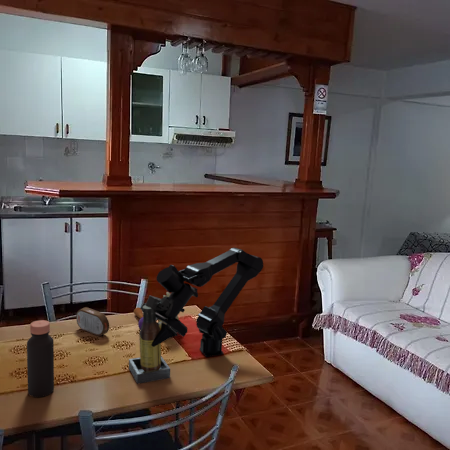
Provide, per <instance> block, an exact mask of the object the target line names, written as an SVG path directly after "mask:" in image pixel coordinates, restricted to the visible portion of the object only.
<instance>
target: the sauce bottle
mask: <svg viewBox="0 0 450 450" xmlns="http://www.w3.org/2000/svg"><path fill="white" fill-rule="evenodd" d="M141 307H142V306H141ZM142 312H143V323H142V326H141V329H139V351H140V352H139V358H140V360H141V368H142V369H143V370H144V371H152V370H158V369H160V367H161V356H162V348H161V347H162V345H161V344H162V343H160V344H158V345H157V346H155V347H153V346H152V345H151V344H152V342H153V341H154V339H155V337H156V336H157V334H158V333H159V331H160V327H159V325H158V321H156V314H155V312H156V310H154V309H152V308H151V307H149V306H146V305H144V306H143V307H142Z"/></svg>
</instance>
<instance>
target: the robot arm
mask: <svg viewBox="0 0 450 450" xmlns="http://www.w3.org/2000/svg"><path fill="white" fill-rule="evenodd" d="M234 264H236V272H235V274H234V275H233V277H232V278H231V280H230V281H229V282H228V284H227V285H226V286H225V288H224V289H223V291H222V292H221V293H220V294H219V296H218V298H217V299H216V300H215V302H214V303H213V304H212V305H210V306H209V307H208V306H206V305H204V306H203V307H202V310H201V311H200V312H199V313H198V314H197V318H196V321H195V323H196V324H195V325H196V329H198V332H199V333H200V334H202V335H201V339H200V347H199V350H200V351H201V353H202V355H204V356H205V357H206V358H209V357H216V356H222V355H224V351H223V349H222V347H223V339H225V338H226V336H227V334H228V331H227V330H226V329H225V328H224V327H223V325H224V323H225V315H226V312H227V311H228V310H229V309H230V307H231V306H232V304H233V303H234V301H235V300H236V299H237V298H238V296H239V294H240V293H241V291H242V290H243V288H244V287H245V286H246V284H247V283H248V281H250V280H252V279H254V278H256V277H257V276H258V275H259V274H260V272H262V271H263V268H264V261H263V257H260V256H256V255H253V254H251V253H250V254H249V253H248V252H247V251H245V250H243V249H241V248H237V247H232V248H230V249H229V250H227V251H226V252H223V253H221V254H220V255H218V256H216V257H213V258H211V259H209V260H207V261H206V262H198V263H193V264H190V265H187V266H186V267H185V268H184V269H181V270H179V269H178V268H177V267H176V266H175V265H173V264H170V265H169V266H168V267H167V266H166V267H164V268H163V269H161V270H160V271H158V273H157V275H156V281H157V282H158V284H160V286H161V287H163V288H164V290H166V292H168V293H170V296H169V297H167V295H166V296H165V297H164V298H163V297H162V298H160V297H156V296H153V295H148V298H147V300H146V302H144V303H143V304H141V307H139V308H140V309H141V310H142V307H143V306H144V305H146V306H149V307H151V308H152V309H154V310H156V312H155V314H156V322H157V323H158V320H161V321H163V322H164V323H166V324H164V323H161V330H160V331H159V333H158V334H157V336H156V337H155V339H154V341H153V342H152V344H151V345H152V346H153V347H155V346H157V345H158V344H160V343H161V344H162V343H163V342H165V341H167V340H169V339H171V338H174V337H175V336H176V337H178V336H179V335H180V336H182V337H185V336H186V334H187V333H188V330H189V329H188V327H187V326H186V325H185V324H184V323H183V322H182V321H181V320H180V319H179V320H178V319H176V317H177V316H178V315H180V313H184V312H185V308H184V307H185V306H186V304H187V303H188V302H189V301H190V299H191V298H192V297H194V298H198V297H199V294H198V288H200V287H203V286H205V285H206V284H208V282H210V281H211V280H212V277H213V276H214V275H216V274H218V273H220V272H221V271H224V270H225V269H227V268H229V267H230V266H233V265H234ZM192 285H193V286H195V287H193V286H192ZM196 287H198V288H196ZM178 317H179V316H178ZM158 325H159V323H158Z"/></svg>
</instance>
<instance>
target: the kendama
mask: <svg viewBox="0 0 450 450" xmlns="http://www.w3.org/2000/svg"><path fill="white" fill-rule="evenodd" d="M140 308H141V307H139V306H138V307H135V309H134V310H133V314H134V315H135V316H136V317H137V318H139V319H138V323H137V324H138V325H137V326H138V329H139V330H140V329H141V326H142V323H143V311H142V310H141V309H140Z"/></svg>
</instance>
